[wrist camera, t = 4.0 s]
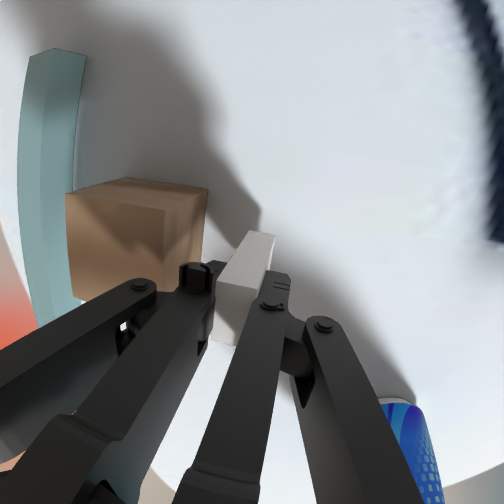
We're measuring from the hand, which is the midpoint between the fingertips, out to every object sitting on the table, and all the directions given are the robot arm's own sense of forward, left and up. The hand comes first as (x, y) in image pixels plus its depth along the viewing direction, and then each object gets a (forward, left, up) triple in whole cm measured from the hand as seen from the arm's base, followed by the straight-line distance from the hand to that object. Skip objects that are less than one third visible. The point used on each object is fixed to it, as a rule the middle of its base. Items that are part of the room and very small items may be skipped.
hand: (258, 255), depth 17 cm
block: (0, -7, -2) cm, 7 cm away
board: (0, -16, -1) cm, 16 cm away
